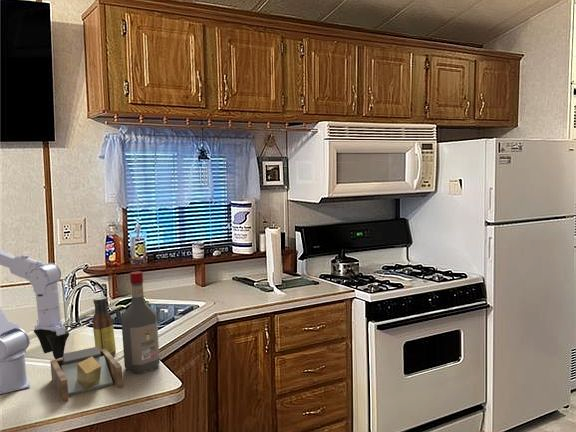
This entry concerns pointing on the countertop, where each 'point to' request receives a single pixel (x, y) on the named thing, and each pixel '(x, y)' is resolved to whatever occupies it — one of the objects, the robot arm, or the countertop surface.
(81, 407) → the countertop surface
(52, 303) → the robot arm
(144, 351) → the liquor
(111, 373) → the frame
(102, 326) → the sauce bottle
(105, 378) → the trapdoor
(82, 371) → the yellow wooden block
